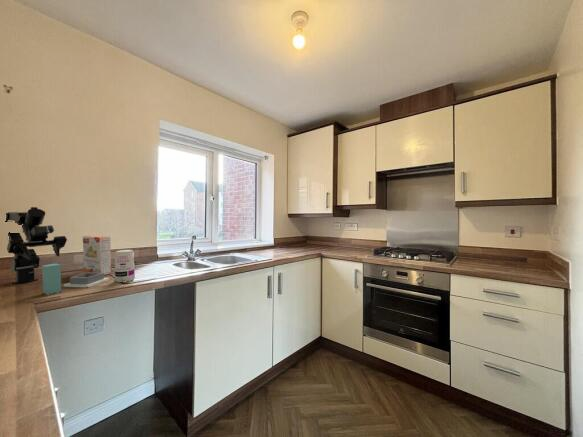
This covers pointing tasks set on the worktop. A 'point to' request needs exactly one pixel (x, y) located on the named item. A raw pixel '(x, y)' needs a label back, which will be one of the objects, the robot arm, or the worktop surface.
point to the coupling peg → (51, 278)
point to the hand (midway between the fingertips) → (45, 257)
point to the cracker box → (97, 254)
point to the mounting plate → (86, 280)
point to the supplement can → (124, 265)
